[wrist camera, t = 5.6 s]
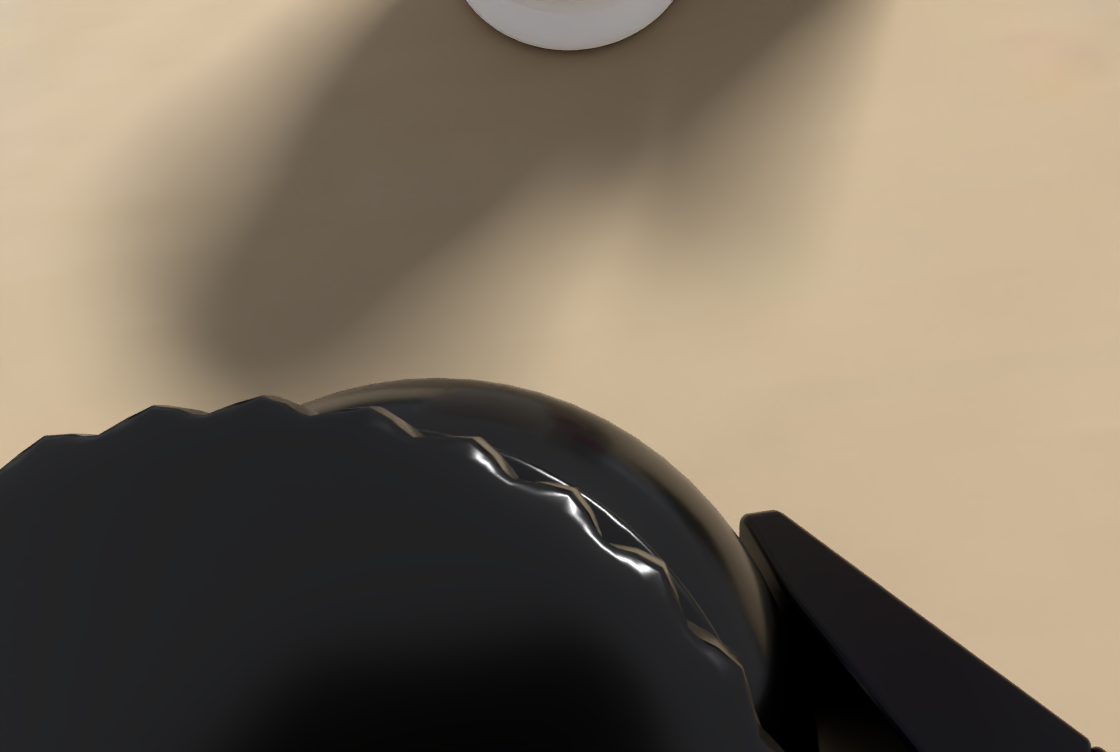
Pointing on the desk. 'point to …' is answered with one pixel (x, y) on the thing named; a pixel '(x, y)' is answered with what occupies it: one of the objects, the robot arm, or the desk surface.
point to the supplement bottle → (382, 586)
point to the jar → (569, 20)
